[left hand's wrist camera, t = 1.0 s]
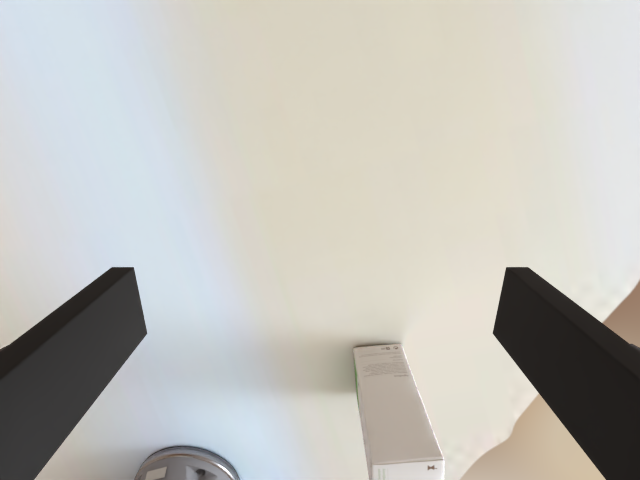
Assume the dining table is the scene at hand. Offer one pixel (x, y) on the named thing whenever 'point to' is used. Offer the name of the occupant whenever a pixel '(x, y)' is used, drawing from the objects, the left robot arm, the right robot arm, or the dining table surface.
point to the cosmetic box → (394, 417)
